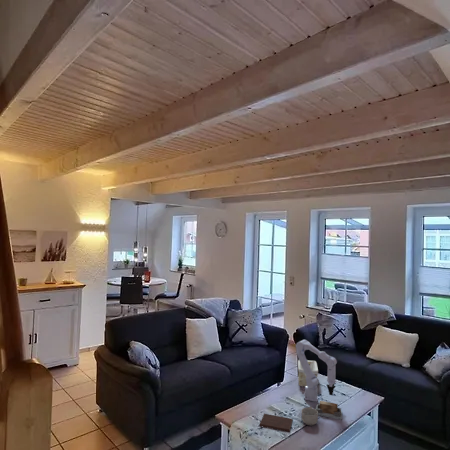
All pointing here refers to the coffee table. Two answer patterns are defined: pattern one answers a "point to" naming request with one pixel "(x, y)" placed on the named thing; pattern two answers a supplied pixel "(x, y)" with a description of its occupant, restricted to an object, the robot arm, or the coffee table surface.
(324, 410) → the tan wooden block
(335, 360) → the robot arm
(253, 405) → the coffee table surface
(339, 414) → the board
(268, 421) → the notebook
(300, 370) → the storage basket
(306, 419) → the teacup
